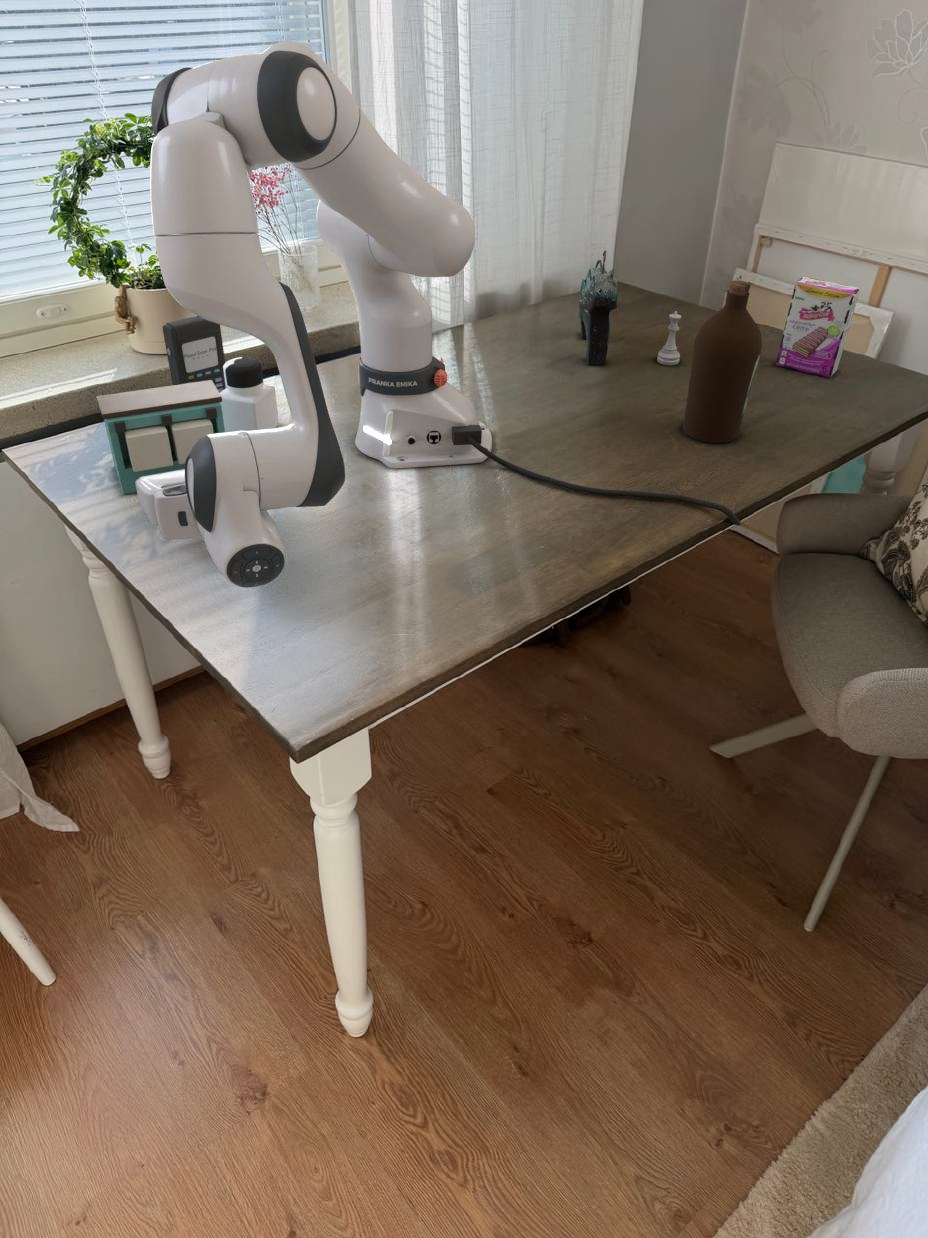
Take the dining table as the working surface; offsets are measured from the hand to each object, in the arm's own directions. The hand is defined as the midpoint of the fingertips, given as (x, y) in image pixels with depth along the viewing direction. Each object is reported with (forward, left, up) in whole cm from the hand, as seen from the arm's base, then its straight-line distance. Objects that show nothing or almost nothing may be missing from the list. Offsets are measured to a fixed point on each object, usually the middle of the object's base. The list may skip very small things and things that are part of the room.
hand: (204, 460), depth 130 cm
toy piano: (+8, -9, -7) cm, 14 cm away
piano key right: (+3, -6, -3) cm, 8 cm away
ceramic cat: (-62, -65, -7) cm, 90 cm away
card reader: (+9, -34, -7) cm, 36 cm away
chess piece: (-77, -60, -7) cm, 98 cm away
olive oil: (-79, -28, -7) cm, 84 cm away
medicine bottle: (-1, -24, -7) cm, 25 cm away
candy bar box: (-104, -58, -7) cm, 119 cm away
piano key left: (+9, -4, -3) cm, 10 cm away
